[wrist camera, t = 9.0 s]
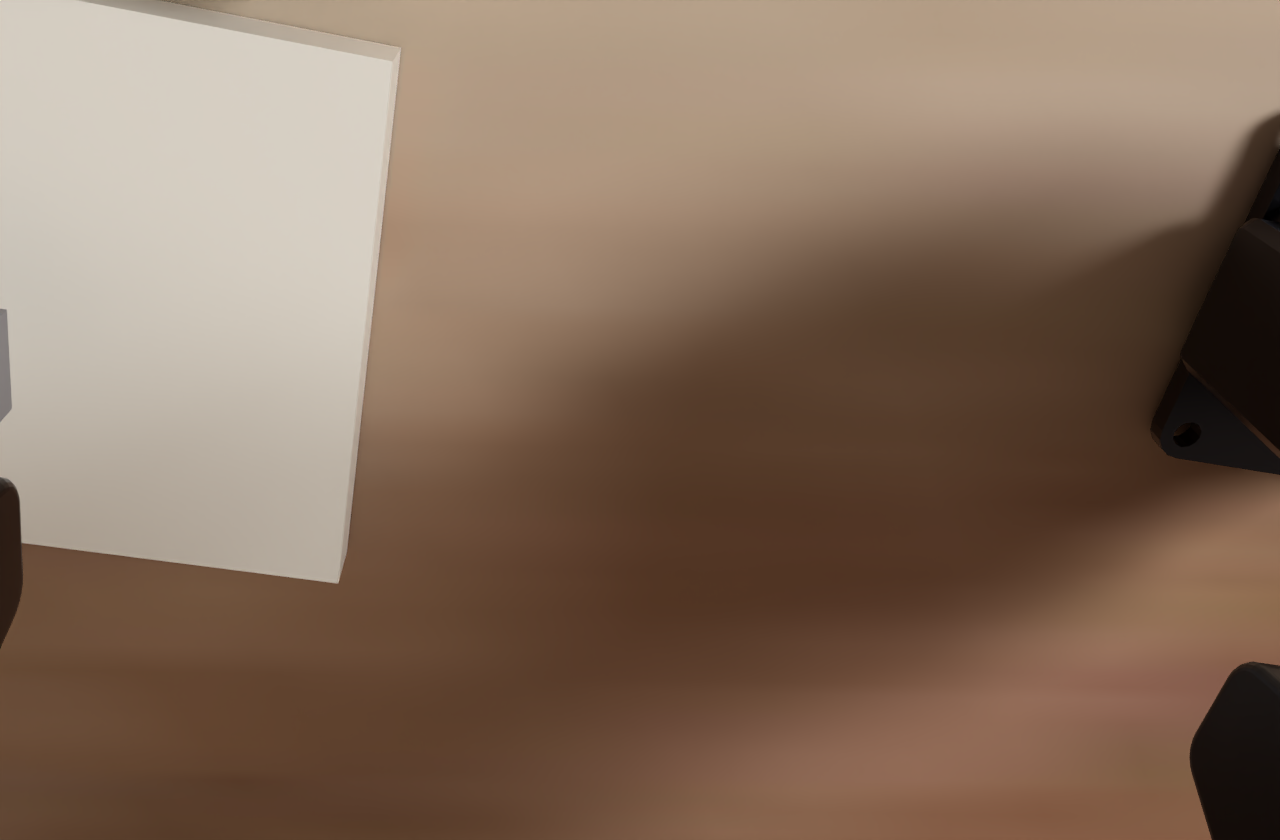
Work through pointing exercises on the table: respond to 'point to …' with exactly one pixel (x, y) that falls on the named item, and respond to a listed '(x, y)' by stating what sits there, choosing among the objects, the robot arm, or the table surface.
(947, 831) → the table surface
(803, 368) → the table surface
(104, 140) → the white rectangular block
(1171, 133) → the table surface
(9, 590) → the robot arm
